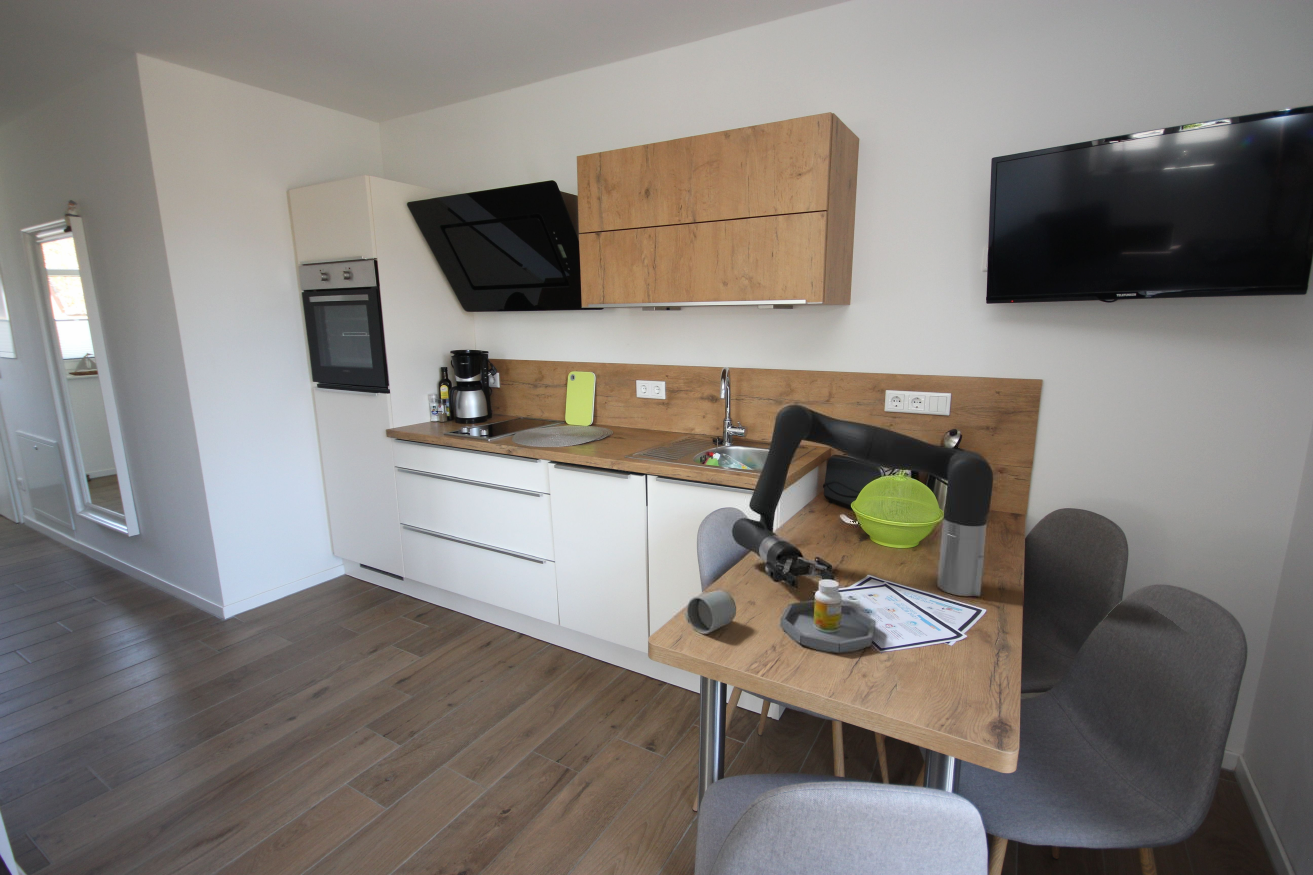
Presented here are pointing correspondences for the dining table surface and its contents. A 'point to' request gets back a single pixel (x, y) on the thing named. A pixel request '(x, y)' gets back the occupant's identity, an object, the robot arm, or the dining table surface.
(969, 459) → the robot arm
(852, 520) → the fork
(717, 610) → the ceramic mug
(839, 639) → the dish
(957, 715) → the dining table surface
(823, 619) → the supplement bottle
